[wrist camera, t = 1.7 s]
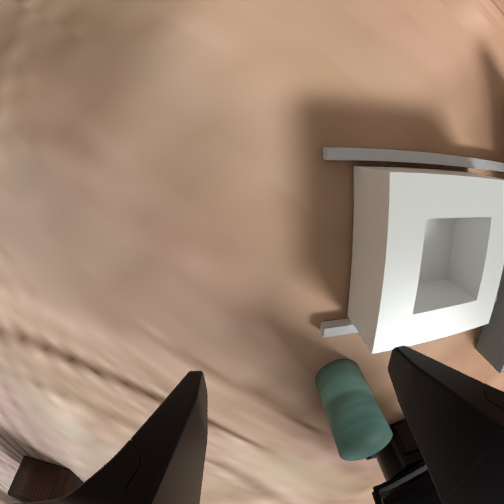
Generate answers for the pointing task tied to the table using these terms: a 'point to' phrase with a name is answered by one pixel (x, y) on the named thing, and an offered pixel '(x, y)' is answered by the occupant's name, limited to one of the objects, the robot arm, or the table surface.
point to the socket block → (423, 253)
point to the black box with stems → (42, 481)
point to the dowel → (352, 411)
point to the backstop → (500, 324)
